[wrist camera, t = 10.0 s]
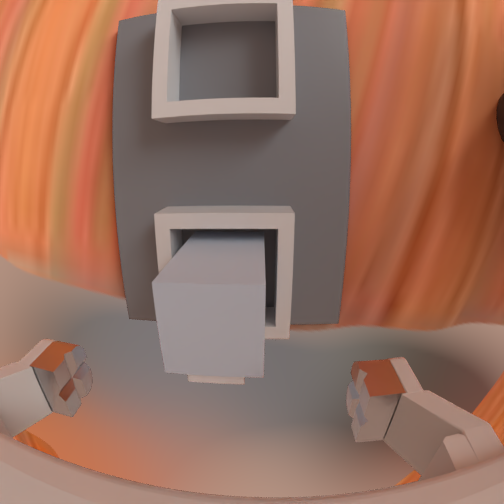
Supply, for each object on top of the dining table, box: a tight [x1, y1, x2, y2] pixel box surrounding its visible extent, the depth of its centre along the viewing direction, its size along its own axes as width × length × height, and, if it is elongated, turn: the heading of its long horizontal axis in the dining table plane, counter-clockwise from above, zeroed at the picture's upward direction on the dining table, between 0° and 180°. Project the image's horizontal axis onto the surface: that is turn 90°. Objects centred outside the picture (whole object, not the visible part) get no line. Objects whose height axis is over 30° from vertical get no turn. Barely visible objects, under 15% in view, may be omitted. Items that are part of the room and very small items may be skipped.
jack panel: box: [113, 0, 351, 339], centre depth 17 cm, size 14×20×4 cm
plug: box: [152, 231, 266, 384], centre depth 15 cm, size 4×5×8 cm
